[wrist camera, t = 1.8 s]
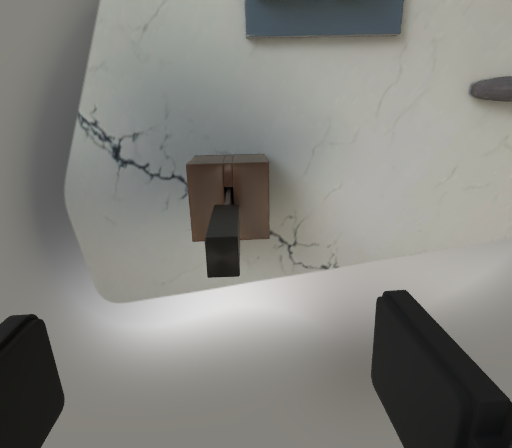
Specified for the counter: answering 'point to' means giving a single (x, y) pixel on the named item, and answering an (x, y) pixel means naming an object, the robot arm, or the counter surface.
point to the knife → (223, 239)
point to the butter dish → (322, 18)
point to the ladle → (494, 89)
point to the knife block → (215, 188)
